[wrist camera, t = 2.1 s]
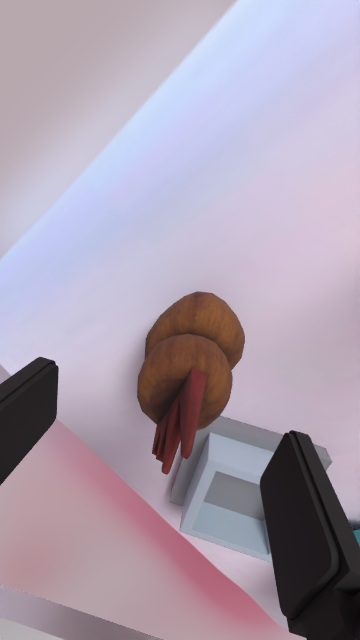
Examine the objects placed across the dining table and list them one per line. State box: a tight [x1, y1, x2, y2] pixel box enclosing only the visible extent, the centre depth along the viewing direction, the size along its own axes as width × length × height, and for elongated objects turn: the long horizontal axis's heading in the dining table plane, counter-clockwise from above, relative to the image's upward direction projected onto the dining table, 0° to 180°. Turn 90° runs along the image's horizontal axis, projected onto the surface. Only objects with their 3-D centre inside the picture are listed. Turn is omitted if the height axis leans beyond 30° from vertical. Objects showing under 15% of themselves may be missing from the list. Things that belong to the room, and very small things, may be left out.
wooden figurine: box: [137, 292, 245, 475], centre depth 14 cm, size 7×6×15 cm
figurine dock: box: [169, 416, 332, 563], centre depth 24 cm, size 13×13×4 cm
